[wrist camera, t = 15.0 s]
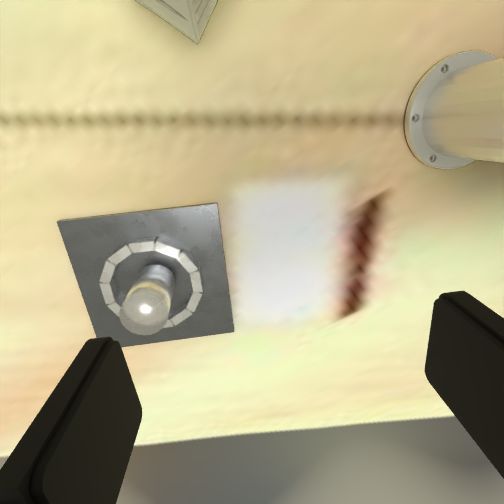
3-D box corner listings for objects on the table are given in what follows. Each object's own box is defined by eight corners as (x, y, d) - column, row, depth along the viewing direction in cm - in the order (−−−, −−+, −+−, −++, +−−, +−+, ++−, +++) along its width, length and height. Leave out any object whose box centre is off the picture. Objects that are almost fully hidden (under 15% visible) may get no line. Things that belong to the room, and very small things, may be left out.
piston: (172, 262, 40) (163, 292, 32) (177, 296, 41) (170, 332, 34) (132, 266, 39) (114, 298, 32) (140, 300, 41) (124, 337, 34)
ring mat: (216, 202, 38) (216, 206, 36) (234, 329, 45) (234, 338, 43) (59, 220, 37) (50, 225, 35) (102, 347, 44) (97, 357, 42)
